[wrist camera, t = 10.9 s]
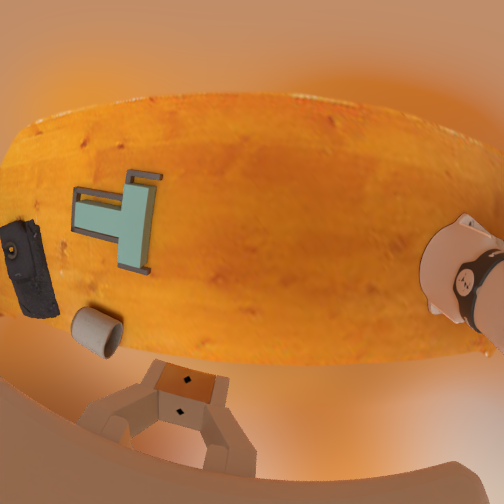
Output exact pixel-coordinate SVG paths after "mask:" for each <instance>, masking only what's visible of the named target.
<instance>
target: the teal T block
mask: <svg viewBox="0 0 504 504" xmlns="http://www.w3.org/2000/svg"><path fill="white" fill-rule="evenodd" d="M156 188H157V187H155V186H150V185H144V184H138V183H128V184H124V192H123V200H122V207H121V206H116V205H111V204H106V203H101V202H96V201H91V200H82V201H78V202H76V205H75V222H74V226H75V227H79V228H83V229H87V230H91V231H95V232H99V233H103V234H107V235H111V236H115V237H119V241H118V258H117V262H118V263H122V264H126V265H129V266H133V267H137V268H141V267H142V266H143V265H144V264H146V263H147V259H148V249H149V239H150V231H151V223H152V215H153V208H154V201H155V194H156Z"/></svg>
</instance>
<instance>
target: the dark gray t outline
mask: <svg viewBox="0 0 504 504" xmlns="http://www.w3.org/2000/svg"><path fill="white" fill-rule="evenodd" d="M134 176H136V177H142V178H148V179H154V180H162V177H163V175H162V174H156V173H150V172H143V171H137V170H127V175H126V181H125V184H128V183H133V182H134ZM81 194H87V195H92V196H98V197H103V198H109V199H114V200H119V201H122V200H123V194H118V193H112V192H106V191H101V190H95V189H89V188H83V187H74V190H73V202H72V218H71V231H72V232H75V233H79V234H83V235H87V236H90V237H94V238H98V239H102V240H106V241H110V242H114V243H117V244H118V241H119V237H115V236H111V235H107V234H103V233H99V232H95V231H91V230H87V229H83V228H79V227H75V226H74V222H75V205H76V202H78V201H80V195H81ZM118 267H119V268H122V269H126V270H129V271H133V272H136V273H140V274H144V275H148V274H149V273H150V270H151V268H148V267H144V266H142V267H141V268H137V267H133V266H129V265H126V264H122V263H118Z"/></svg>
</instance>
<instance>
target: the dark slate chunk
mask: <svg viewBox="0 0 504 504" xmlns="http://www.w3.org/2000/svg"><path fill="white" fill-rule="evenodd" d="M0 239H1V243H2V248H3V251H4V255H5V262H6V266H7V271H8V275H9V278H10V279H11V280H12V283H13V286H14V289H15V292H16V295H17V297H18V301H19V305H20V308H21V310H22V313H23V314H24V315H25V316H28V317H31V318H37V319H41V318H42V319H46V318H50V317H51V318H54V317H56V316H57V315H60V311H59V308H58V304H57V301H56V299H55V294H54V290H53V287H52V282H51V278H50V274H49V270H48V267H47V262H46V257H45V254H44V249H43V244H42V239H41V233H40V227H39V226H38V225H35V223H34V220H33V219H32V220H30V221H26V222H23V221H21V220H19V221H14V222H12V223H9V224H7V225H5V226H2V227H0ZM10 247H13V252H10V251H9V248H10Z"/></svg>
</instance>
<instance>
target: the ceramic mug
mask: <svg viewBox="0 0 504 504" xmlns="http://www.w3.org/2000/svg"><path fill="white" fill-rule="evenodd" d="M122 332H123V325H122V323H121V322H120V321H118V320H116V319H114V318H112V317H110V316H108V315H106V314H103V313H101V312H99V311H97V310H96V309H93V308H90V307H83V308H81V309H79V310H78V311H77V313H76V314H75V316H74V318H73V320H72V323H71V335H72V337H73V338H74V339H75V340H76V341H77V342H78V343H80V344H81V345H82V346H84V347H86V348H88V349H89V350H91V351H92V352H94V353H95V354H97V355H98V356H100V357H102V358H103V359H109V358H110V357H111V356H112V355H113V354H114V352H115V351H116V349H117V347H118V345H119V342H120V340H121V336H122Z"/></svg>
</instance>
